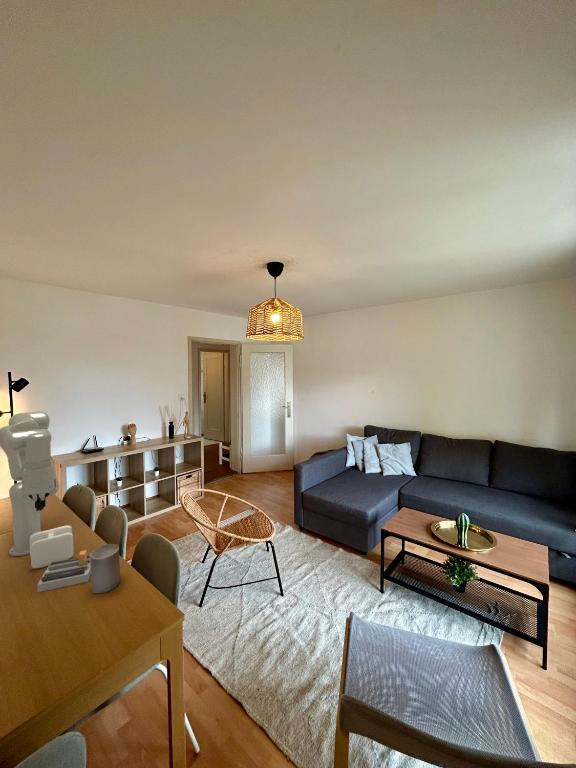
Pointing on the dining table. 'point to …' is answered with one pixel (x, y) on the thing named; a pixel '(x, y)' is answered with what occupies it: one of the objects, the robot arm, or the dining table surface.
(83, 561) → the lever
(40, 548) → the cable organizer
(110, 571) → the pillar candle
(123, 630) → the dining table surface
